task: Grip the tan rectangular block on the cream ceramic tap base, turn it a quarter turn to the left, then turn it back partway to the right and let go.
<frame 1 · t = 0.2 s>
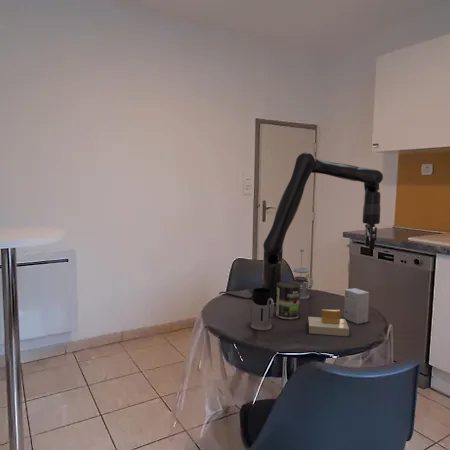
hand: (369, 247, 177), 29 cm above the table, tool pointing down, fingers open, 8 cm apart
french press: (301, 296, 199), on the table
coffee can: (287, 315, 169), on the table
glass holder: (264, 328, 153), on the table
tap base: (327, 329, 152), on the table
tan rectangular block: (330, 316, 151), point 6 cm above the table, hinge at 0.0°
small box: (355, 320, 164), on the table
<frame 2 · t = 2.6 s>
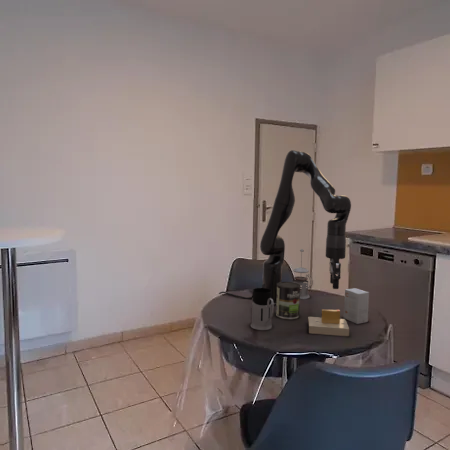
hand: (334, 286, 152), 18 cm above the table, tool pointing down, fingers open, 8 cm apart
nothing on the table moved.
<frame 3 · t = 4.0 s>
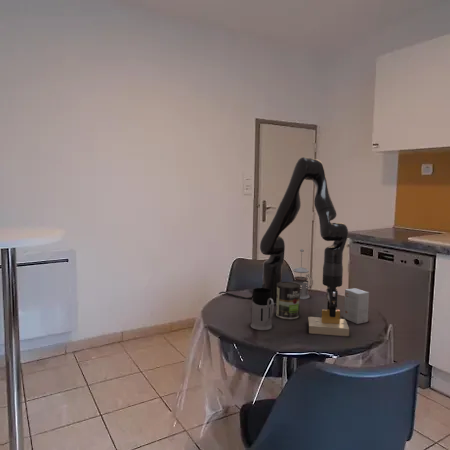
hand: (331, 313, 151), 7 cm above the table, tool pointing down, fingers open, 8 cm apart
nothing on the table moved.
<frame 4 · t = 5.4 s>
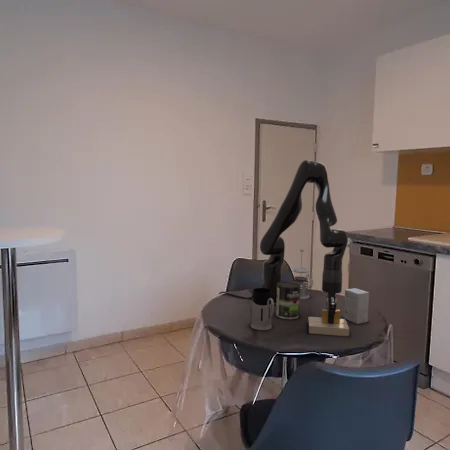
hand: (330, 322, 152), 3 cm above the table, tool pointing down, fingers closed on tan rectangular block, 2 cm apart
tan rectangular block: (330, 316, 151), point 6 cm above the table, hinge at 0.0°, touching gripper
everything else where it was.
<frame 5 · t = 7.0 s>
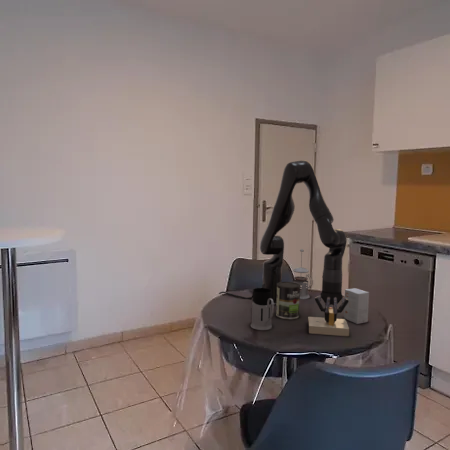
hand: (330, 321, 152), 3 cm above the table, tool pointing down, fingers closed on tan rectangular block, 2 cm apart
tan rectangular block: (330, 316, 151), point 6 cm above the table, hinge at 90.0°, touching gripper
everything else where it was.
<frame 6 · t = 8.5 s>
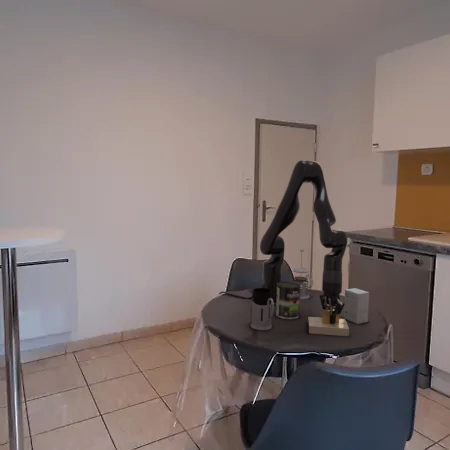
hand: (330, 322, 152), 3 cm above the table, tool pointing down, fingers closed on tap base, 2 cm apart
tan rectangular block: (330, 316, 151), point 6 cm above the table, hinge at 30.2°
everything else where it was.
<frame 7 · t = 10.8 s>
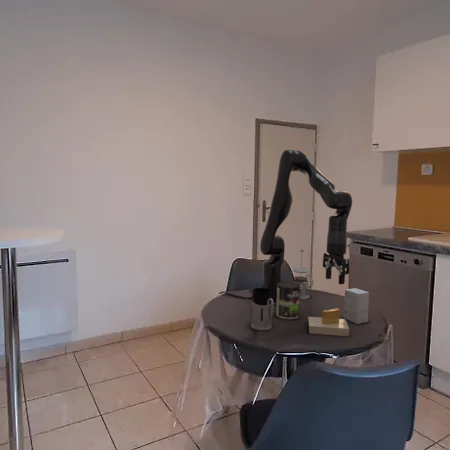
hand: (334, 281, 152), 19 cm above the table, tool pointing down, fingers open, 8 cm apart
nothing on the table moved.
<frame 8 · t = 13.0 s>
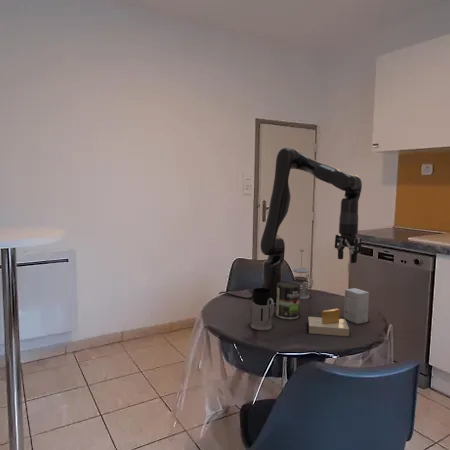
hand: (346, 260, 160), 26 cm above the table, tool pointing down, fingers open, 8 cm apart
nothing on the table moved.
at the end: tan rectangular block reached +90° during the clip, +30° at the end; tan rectangular block at +30° (first picture: +0°) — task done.
